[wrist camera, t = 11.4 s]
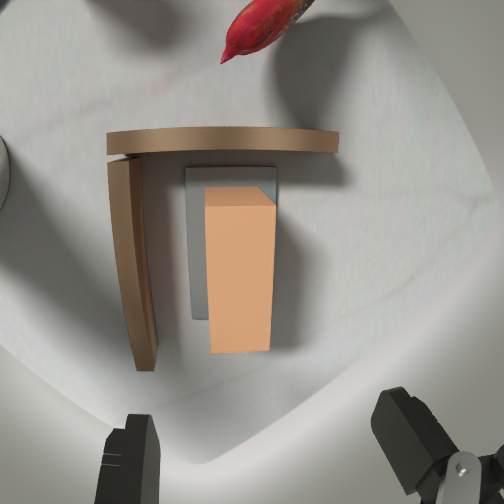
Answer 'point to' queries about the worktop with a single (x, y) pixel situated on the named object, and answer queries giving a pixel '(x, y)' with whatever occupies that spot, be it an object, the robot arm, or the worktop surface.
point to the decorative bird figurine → (261, 25)
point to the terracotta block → (239, 268)
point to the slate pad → (196, 218)
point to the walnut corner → (131, 207)
